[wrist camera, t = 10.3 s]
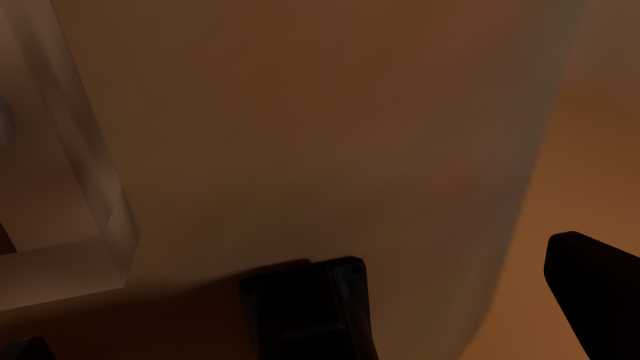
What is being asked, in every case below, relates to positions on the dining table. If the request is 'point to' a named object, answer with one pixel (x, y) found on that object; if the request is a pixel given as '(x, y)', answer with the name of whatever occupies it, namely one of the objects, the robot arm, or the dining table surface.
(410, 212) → the dining table surface
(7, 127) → the hook rod
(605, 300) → the robot arm
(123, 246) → the grey flat frame
